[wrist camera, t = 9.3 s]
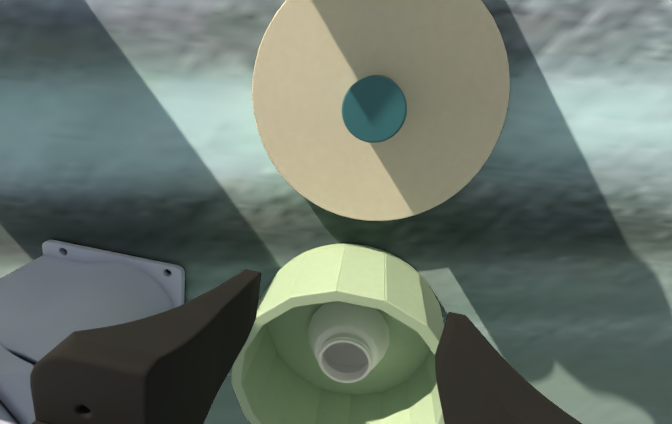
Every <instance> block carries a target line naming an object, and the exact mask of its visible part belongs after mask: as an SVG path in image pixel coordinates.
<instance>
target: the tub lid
mask: <svg viewBox="0 0 672 424" xmlns="http://www.w3.org/2000/svg"><path fill="white" fill-rule="evenodd" d="M509 93H510V71H509V65H508V58H507V52H506V49H505V46H504V42H503V39H502V36H501V33H500V31H499V29H498V27H497V25H496V23H495V21H494V18H493V17H492V15H491V14H490V12H489V11H488V9H487V8H486V6H485V5H484V3H483V2H482V1H481V0H286V1H285V2H284V4H283V5H282V6H281V7H280V9H279V10H278V11H277V13H276V14H275V16H274V18H273V19H272V21H271V23H270V25H269V26H268V28H267V30H266V32H265V35H264V37H263V39H262V42H261V44H260V47H259V50H258V54H257V58H256V62H255V67H254V74H253V83H252V100H253V109H254V116H255V121H256V125H257V129H258V132H259V135H260V138H261V141H262V143H263V146H264V148H265V150H266V152H267V154H268V156H269V158H270V160H271V161H272V163H273V164H274V166H275V167H276V169H277V170H278V172H279V173H280V174H281V175H282V176H283V178H284V179H285V180H286V181H287V182H288V183H289V184H290V185H291V186H292V187H293V188H294V189H295V190H296V191H297V192H298V193H300V194H301V195H302V196H304V197H305V198H307V199H308V200H309V201H311V202H312V203H314V204H316V205H318V206H319V207H321V208H323V209H325V210H327V211H330V212H333V213H335V214H338V215H341V216H345V217H348V218H352V219H359V220H366V221H387V220H396V219H402V218H406V217H410V216H414V215H417V214H420V213H422V212H425V211H428V210H430V209H432V208H434V207H436V206H438V205H440V204H441V203H443V202H445V201H446V200H448V199H449V198H451V197H452V196H454V195H455V194H456V193H458V192H459V191H460V190H461V189H462V188H463V187H464V186H466V185H467V184H468V183H469V182H470V181H471V180H472V178H473V177H474V176H475V175H476V174H477V173H478V172H479V171H480V169H481V168H482V166H483V165H484V164H485V162H486V161H487V159H488V158H489V156H490V154H491V153H492V151H493V149H494V147H495V145H496V143H497V141H498V139H499V136H500V133H501V131H502V128H503V125H504V122H505V118H506V113H507V109H508V103H509Z"/></svg>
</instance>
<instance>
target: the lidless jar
mask: <svg viewBox="0 0 672 424" xmlns="http://www.w3.org/2000/svg"><path fill="white" fill-rule="evenodd" d="M308 338H309V344H310V346H311V349H312V351H313V353H314V355H315V357H316V359H317V361H318V364H319V366H320V368H321V370H322V371H323V372H324V373H325V375H327V376H328V377H329V378H331V379H333V380H335V381H337V382H341V383H354V382H357V381H360V380H362V379H363V378H365V377H366V376H367V375H368V373H369V372H370V371H371V370H372V369H373V368H374V367H375V366H376V365H377V364H378V363H379V362H380V360H381V359H382V358H383V357H384V355H385V353H386V351H387V349H388V347H389V327H388V325H387V323H386V321H385V319H384V317H383V315H382V314H381V313H379V312H378V311H377V310H376V309H374V308H369V307H364V306H359V305H354V304H349V303H344V302H339V301H335V302H329V303H326V304H324V305H322V306H321V307H320V308H319V309H318V310H317V311H316V312H315V313H314V314H313V316H312V319H311V322H310V324H309V327H308Z"/></svg>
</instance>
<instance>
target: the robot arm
mask: <svg viewBox="0 0 672 424" xmlns="http://www.w3.org/2000/svg"><path fill="white" fill-rule="evenodd" d="M65 250H66V251H67V252H66V251H65ZM42 251H43V256H41V257H39V258H37V259H35V260H33V261H32V262H30V263H28V264H26V265H24V266H22V267H21V268H19V269H17V270H15V271H13V272H11V273H10V274H8V275H6V276H4V277H2V278H0V424H203V423H204V421H205V419H206V416H207V414H208V412H209V410H210V407H211V405H212V403H213V401H214V398H215V396H216V394H217V392H218V391H219V389H220V387H221V385H222V383H223V381H224V380H225V378H226V376H227V374H228V373H229V371H230V369H231V367H232V366H233V364H234V362H235V361H236V359H237V357H238V355H239V354H240V352H241V350H242V348H243V346H244V345H245V343H246V341H247V339H248V337H249V334H250V332H251V330H252V327H253V325H254V322H255V320H256V317H257V308H258V299H259V290H260V280H261V273H260V272H255V271H251V270H244V271H243V272H241V273H239V274H238V275H236V276H234V277H233V278H231V279H229V280H228V281H226V282H225V283H223V284H221V285H220V286H218V287H216V288H214V289H213V290H211V291H209V292H207V293H205V294H203V295H201V296H199V297H197V298H195V299H193V300H191V301H189V302H187V303H185V304H184V296H185V271H184V269H183V268H182V267H181V266H179V265H175V264H170V263H165V262H160V261H155V260H150V259H145V258H140V257H135V256H130V255H125V254H121V253H116V252H111V251H106V250H101V249H96V248H91V247H86V246H81V245H76V244H71V243H66V242H62V241H57V240H47V241H45V242H44V243H43V244H42ZM167 269H168V270H170V272H171V274H170V273H168V272H167ZM435 370H436V382H437V388H438V393H439V398H440V403H441V408H442V413H443V418H444V423H445V424H582V423H580V422H579V421H577V420H576V419H574V418H573V417H571V416H570V415H569V414H567V413H566V412H564V411H563V410H562V409H560V408H559V407H558V406H556V405H555V404H554V403H552V402H551V401H550V400H548V399H547V398H546V397H545V396H543V395H542V394H541V393H540V392H539V391H537V390H536V389H535V388H534V387H533V386H532V385H531V384H529V383H528V382H527V381H526V380H525V379H524V378H523V377H522V376H521V375H520V374H518V373H517V372H516V371H515V370H514V369H513V368H512V367H511V366H510V365H509V364H508V363H507V362H506V361H505V359H504V358H503V357H502V356H501V355H500V354H499V353H498V352H497V351H496V350H495V349H494V348H493V346H492V345H491V344H490V343H489V342H488V341H487V340H486V338H485V337H484V336H483V335H482V334H481V333H480V331H479V330H478V329H477V328H476V327H475V326H474V324H473V323H472V322H471V321H470V320H469V319H468V318H467V317H466V316H465V315H462V314H457V313H452V312H449V313H448V316H447V319H446V322H445V325H444V328H443V332H442V335H441V338H440V341H439V344H438V347H437V350H436V353H435Z"/></svg>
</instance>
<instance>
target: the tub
mask: <svg viewBox="0 0 672 424" xmlns="http://www.w3.org/2000/svg"><path fill="white" fill-rule="evenodd" d="M335 301H339V302H344V303H349V304H354V305H359V306H364V307H369V308H374V309H376V310H377V311H378V312H379V313H381V314H382V315H383V317H384V319H385V321H386V323H387V325H388V327H389V347H388V349H387V351H386V353H385V355H384V357H383V358H382V359H381V360H380V362H379V363H378V364H377V365H376V366H375V367H374V368H373V369H372V370H371V371H370V372H369V373H368V375H367V376H366V377H365V378H363V379H362V380H360V381H357V382H354V383H341V382H337V381H335V380H333V379H331V378H329V377H328V376H327V375H325V373H324V372H323V371H322V370H321V368H320V366H319V364H318V361H317V359H316V357H315V355H314V353H313V351H312V349H311V346H310V344H309V338H308V327H309V324H310V322H311V319H312V316H313V314H314V313H315V312H316V311H317V310H318V309H319V308H320V307H321V306H322V305H324V304H326V303H329V302H335ZM443 328H444V321H443V317H442V313H441V308H440V304H439V302H438V300H437V299H436V297H435V295H434V293H433V291H432V289H431V288H430V286H429V285H428V283H427V282H426V281H425V279H424V278H423V277H422V276H421V275H420V274H419V273H418V272H417V271H416V270H415V269H414V268H413V267H412V266H410V265H409V264H407V263H406V262H405V261H403V260H402V259H400V258H398V257H396V256H394V255H393V254H391V253H388V252H386V251H383V250H381V249H378V248H374V247H370V246H366V245H359V244H332V245H326V246H322V247H317V248H314V249H312V250H309V251H306V252H304V253H302V254H300V255H299V256H297V257H295V258H294V259H292V260H291V261H289V262H288V263H287V264H286V265H284V266H283V267H282V268H281V269H280V270H279V271H278V272H277V274H276V275H275V277H274V278H273V279H272V281H271V283H270V285H269V286H268V288H267V289H266V291H265V292H264V294H263V295H262V297H261V299H260V301H259V303H258V308H257V317H256V320H255V322H254V325H253V327H252V330H251V332H250V334H249V337H248V339H247V341H246V343H245V345H244V346H243V348H242V350H241V352H240V354H239V355H238V357H237V359H236V361H235V362H234V364H233V366H232V377H231V383H232V387H233V389H234V392H235V394H236V397H237V399H238V402H239V404H240V407H241V409H242V412H243V414H244V416H245V417H246V419H247V420H248V421H249V422H250V423H251V424H445V423H444V418H443V413H442V408H441V403H440V398H439V393H438V388H437V382H436V370H435V353H436V350H437V347H438V344H439V341H440V338H441V335H442V332H443Z"/></svg>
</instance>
